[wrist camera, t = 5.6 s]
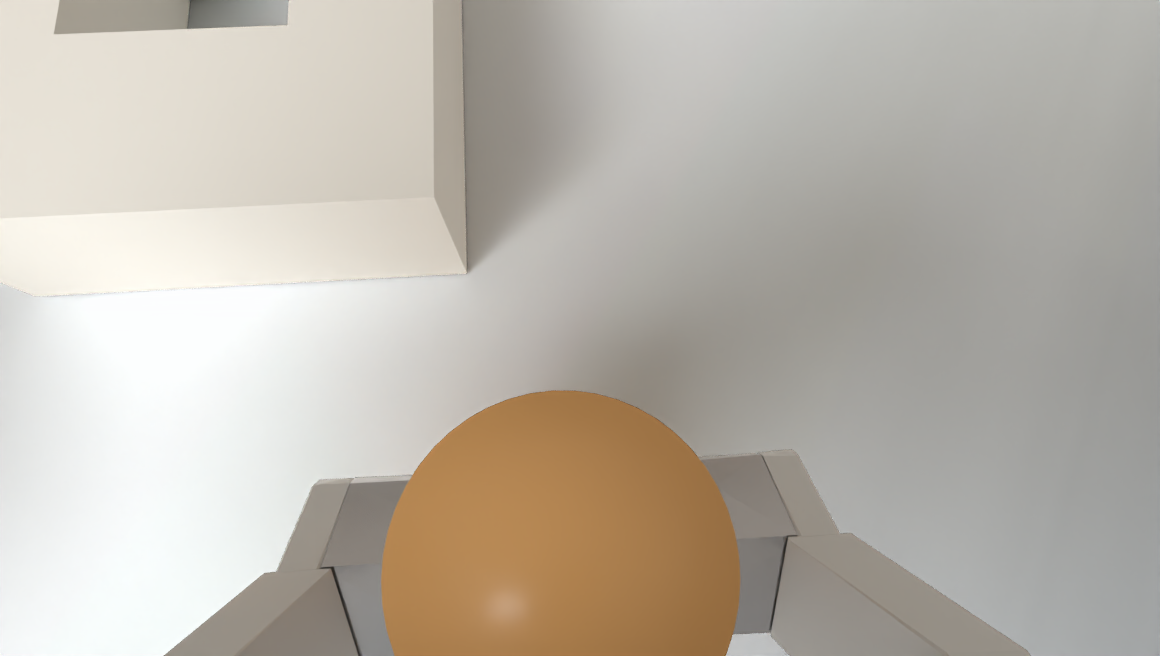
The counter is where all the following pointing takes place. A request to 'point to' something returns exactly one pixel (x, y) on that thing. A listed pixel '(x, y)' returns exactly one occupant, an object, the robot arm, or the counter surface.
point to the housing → (229, 145)
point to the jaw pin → (561, 538)
